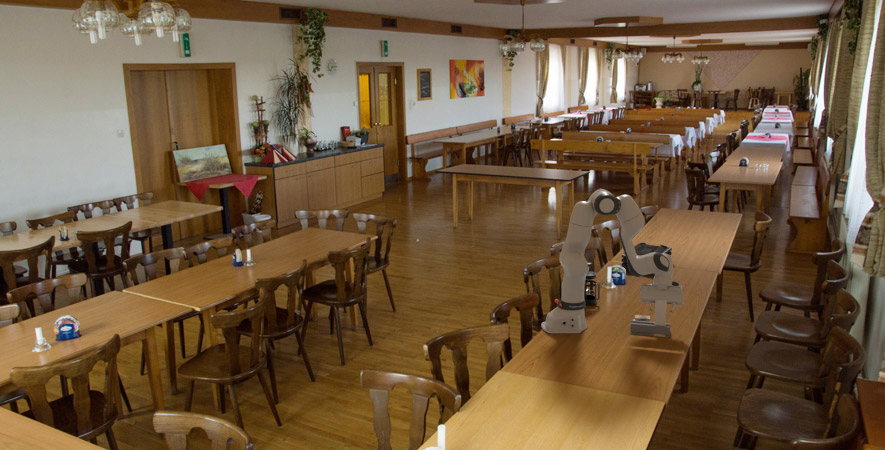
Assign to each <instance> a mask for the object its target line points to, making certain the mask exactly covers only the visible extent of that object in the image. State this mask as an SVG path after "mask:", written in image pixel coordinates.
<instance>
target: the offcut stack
mask: <svg viewBox="0 0 885 450" xmlns="http://www.w3.org/2000/svg"><path fill="white" fill-rule="evenodd" d="M632 320H636V321H646V322H651V316H650V315H644V314H643V315H641V314H634V318H633V319H632Z"/></svg>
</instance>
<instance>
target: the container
mask: <svg viewBox="0 0 885 450" xmlns="http://www.w3.org/2000/svg"><path fill="white" fill-rule="evenodd" d="M634 248H635V252H636V254H637V255H638V256H642V255H646V254H649V253H654V252H659V253H661V254H662V253H665V254H668V255H670V256H672V252H673V251H672V250H673V248H672V246H670V245H664V244H660V245H656V244H655V245H654V244H653V245H652V244H649V243H646V242H639V243H637V244H635V245H634ZM620 265H621V268H622V267H624V268H625V269H626V271H627V272H626V273H630V271H629V269H628V263H627V259H626V256H625V252H623V253H622V254H621V264H620ZM652 275H655V274H654V273H651V274H647V276H651V277H652Z"/></svg>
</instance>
